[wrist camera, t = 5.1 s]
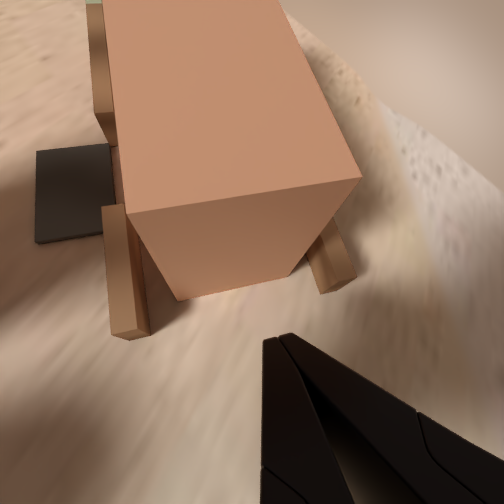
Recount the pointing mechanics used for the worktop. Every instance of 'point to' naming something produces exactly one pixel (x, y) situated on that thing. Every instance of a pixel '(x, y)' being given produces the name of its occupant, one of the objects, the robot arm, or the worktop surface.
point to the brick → (222, 140)
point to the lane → (114, 215)
